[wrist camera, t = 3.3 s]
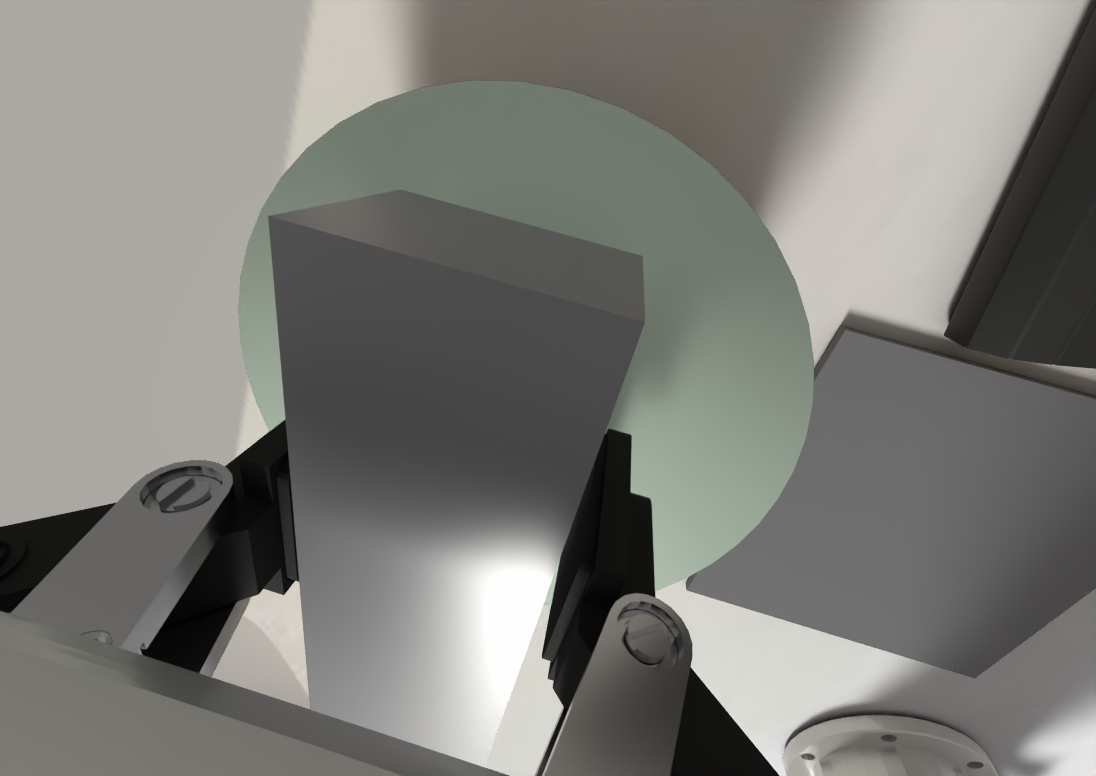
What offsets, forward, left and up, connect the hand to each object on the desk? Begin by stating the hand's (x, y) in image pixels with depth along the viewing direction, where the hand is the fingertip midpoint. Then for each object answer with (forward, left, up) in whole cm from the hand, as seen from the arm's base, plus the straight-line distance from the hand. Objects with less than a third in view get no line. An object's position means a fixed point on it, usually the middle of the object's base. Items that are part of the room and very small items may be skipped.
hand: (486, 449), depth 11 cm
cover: (0, 0, -3) cm, 3 cm away
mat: (-20, +6, -11) cm, 24 cm away
